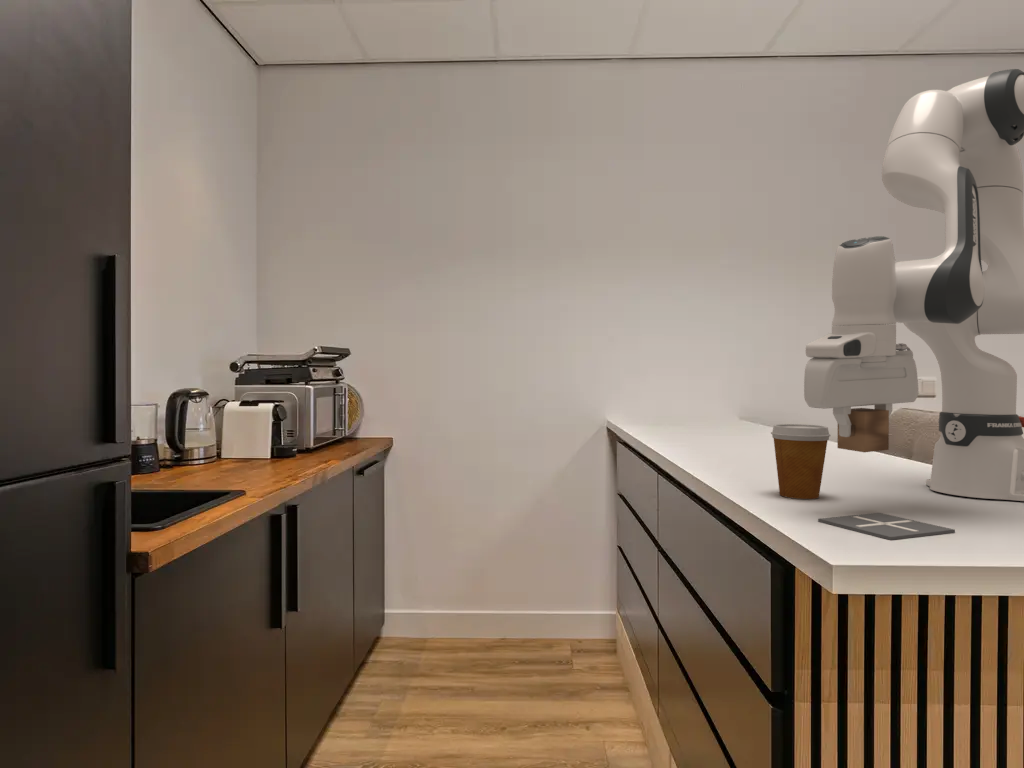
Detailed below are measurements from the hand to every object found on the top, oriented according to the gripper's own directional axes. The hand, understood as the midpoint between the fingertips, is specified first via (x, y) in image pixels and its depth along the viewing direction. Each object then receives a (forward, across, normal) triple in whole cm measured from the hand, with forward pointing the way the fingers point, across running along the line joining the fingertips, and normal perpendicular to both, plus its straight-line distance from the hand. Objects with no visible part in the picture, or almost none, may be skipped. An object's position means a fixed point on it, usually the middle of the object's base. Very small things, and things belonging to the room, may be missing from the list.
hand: (862, 434), depth 112 cm
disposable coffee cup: (+12, -1, -14) cm, 18 cm away
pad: (+11, +6, +9) cm, 16 cm away
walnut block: (+2, 0, 0) cm, 2 cm away
